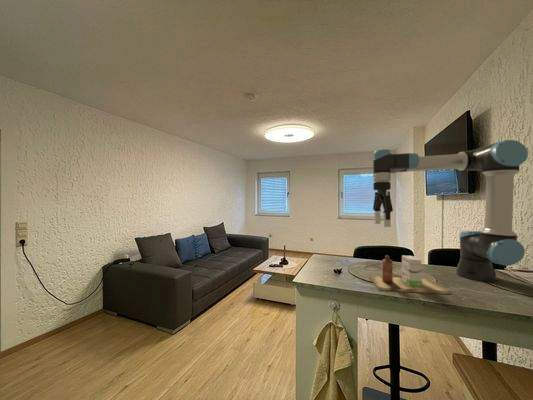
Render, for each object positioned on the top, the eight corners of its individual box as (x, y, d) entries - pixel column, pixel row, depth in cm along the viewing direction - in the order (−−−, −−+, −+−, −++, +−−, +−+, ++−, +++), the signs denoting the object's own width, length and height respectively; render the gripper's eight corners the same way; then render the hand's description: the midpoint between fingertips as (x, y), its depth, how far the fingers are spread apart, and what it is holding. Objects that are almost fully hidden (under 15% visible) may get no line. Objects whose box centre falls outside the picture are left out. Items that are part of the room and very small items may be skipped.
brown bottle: (381, 280, 106) (381, 254, 106) (390, 280, 106) (390, 255, 106) (384, 283, 102) (384, 256, 102) (394, 283, 102) (393, 257, 102)
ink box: (422, 287, 98) (422, 260, 98) (409, 286, 99) (409, 259, 99) (412, 280, 106) (412, 255, 106) (401, 279, 107) (401, 255, 107)
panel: (431, 281, 108) (431, 278, 108) (450, 293, 94) (450, 290, 94) (369, 278, 112) (369, 275, 112) (378, 290, 98) (378, 287, 98)
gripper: (366, 183, 124) (366, 222, 124) (382, 179, 99) (382, 228, 99) (381, 183, 122) (381, 222, 122) (401, 179, 98) (401, 228, 98)
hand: (382, 225), depth 111 cm, fingers open, 13 cm apart
